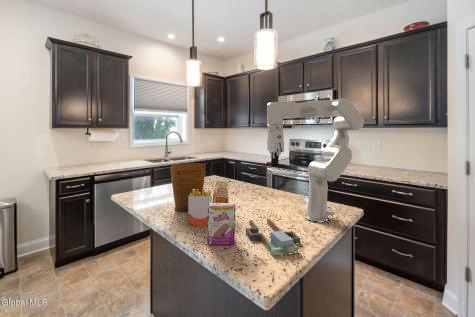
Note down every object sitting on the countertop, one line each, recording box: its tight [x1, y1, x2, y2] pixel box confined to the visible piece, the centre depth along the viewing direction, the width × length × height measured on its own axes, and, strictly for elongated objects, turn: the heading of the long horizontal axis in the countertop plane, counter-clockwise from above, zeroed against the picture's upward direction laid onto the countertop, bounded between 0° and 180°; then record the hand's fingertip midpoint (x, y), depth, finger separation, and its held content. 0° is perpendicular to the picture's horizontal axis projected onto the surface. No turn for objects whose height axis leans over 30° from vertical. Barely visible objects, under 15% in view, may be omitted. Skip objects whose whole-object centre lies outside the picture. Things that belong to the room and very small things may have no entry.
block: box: [269, 230, 293, 248], centre depth 96 cm, size 5×9×5 cm, turn 20°
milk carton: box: [212, 179, 230, 203], centre depth 131 cm, size 9×9×20 cm
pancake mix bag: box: [170, 162, 206, 213], centre depth 138 cm, size 7×19×28 cm, turn 96°
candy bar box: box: [206, 202, 237, 246], centre depth 99 cm, size 11×5×16 cm, turn 92°
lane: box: [245, 218, 301, 257], centre depth 106 cm, size 19×31×2 cm, turn 13°
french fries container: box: [187, 188, 213, 227], centre depth 118 cm, size 5×11×18 cm, turn 91°
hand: (274, 166), depth 118 cm, fingers closed
